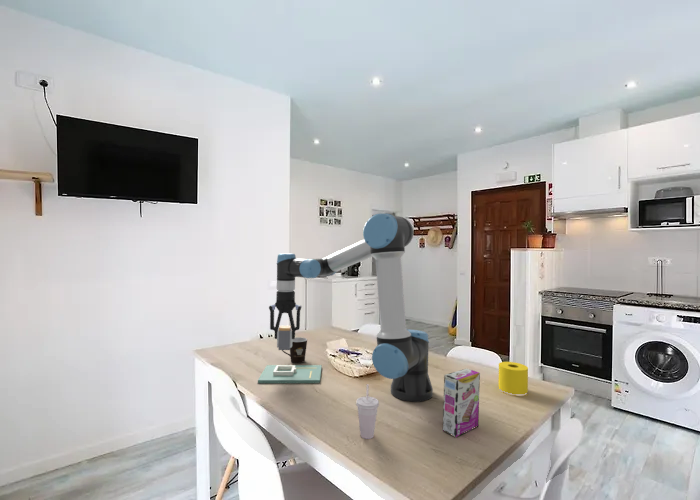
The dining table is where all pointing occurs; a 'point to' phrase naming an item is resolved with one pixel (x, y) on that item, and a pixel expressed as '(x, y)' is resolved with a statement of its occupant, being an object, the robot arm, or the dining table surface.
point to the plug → (284, 338)
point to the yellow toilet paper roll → (513, 377)
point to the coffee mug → (298, 350)
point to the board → (291, 374)
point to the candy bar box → (461, 401)
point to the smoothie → (367, 415)
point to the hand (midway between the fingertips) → (284, 346)
